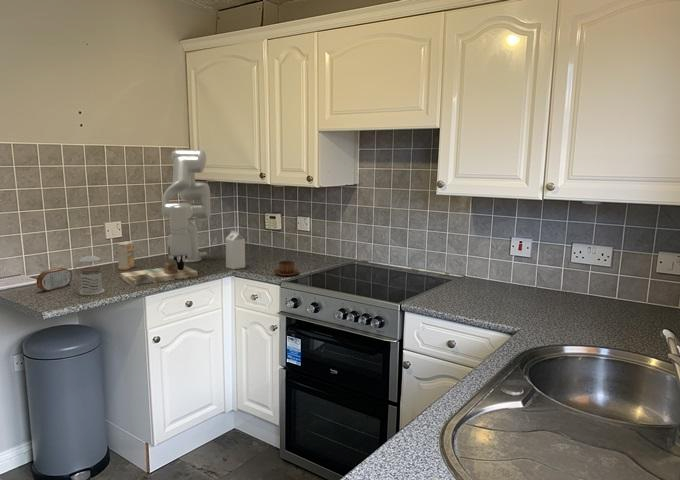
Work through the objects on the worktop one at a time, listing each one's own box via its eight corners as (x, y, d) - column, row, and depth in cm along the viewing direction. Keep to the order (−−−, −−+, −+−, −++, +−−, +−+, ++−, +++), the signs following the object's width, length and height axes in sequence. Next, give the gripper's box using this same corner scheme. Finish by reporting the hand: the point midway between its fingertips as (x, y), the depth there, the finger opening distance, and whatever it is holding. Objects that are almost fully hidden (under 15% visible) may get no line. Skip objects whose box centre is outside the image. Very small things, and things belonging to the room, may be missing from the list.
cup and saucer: (302, 276, 244) (302, 263, 243) (279, 278, 238) (279, 265, 237) (292, 271, 254) (292, 259, 253) (270, 273, 248) (270, 261, 247)
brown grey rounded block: (68, 284, 221) (67, 265, 220) (73, 285, 220) (72, 266, 218) (36, 292, 207) (35, 272, 206) (42, 293, 206) (40, 273, 205)
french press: (99, 294, 205) (95, 234, 201) (70, 295, 204) (65, 234, 200) (108, 288, 215) (105, 231, 210) (80, 288, 214) (76, 230, 209)
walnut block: (173, 271, 237) (173, 262, 236) (177, 273, 234) (177, 263, 233) (164, 272, 234) (164, 263, 233) (168, 274, 231) (167, 264, 230)
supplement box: (128, 270, 249) (126, 244, 247) (118, 270, 249) (117, 244, 247) (135, 266, 257) (133, 241, 255) (125, 266, 257) (124, 241, 255)
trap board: (183, 270, 251) (182, 265, 251) (197, 276, 238) (197, 271, 238) (120, 278, 232) (120, 273, 232) (132, 286, 219) (132, 280, 219)
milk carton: (237, 265, 264) (237, 229, 261) (245, 267, 259) (244, 231, 256) (225, 267, 259) (225, 231, 256) (233, 269, 254) (232, 232, 251)
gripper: (190, 229, 242) (192, 266, 244) (160, 231, 232) (161, 270, 235) (197, 231, 236) (198, 269, 239) (166, 233, 226) (168, 273, 229)
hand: (180, 269), depth 237 cm, fingers closed
